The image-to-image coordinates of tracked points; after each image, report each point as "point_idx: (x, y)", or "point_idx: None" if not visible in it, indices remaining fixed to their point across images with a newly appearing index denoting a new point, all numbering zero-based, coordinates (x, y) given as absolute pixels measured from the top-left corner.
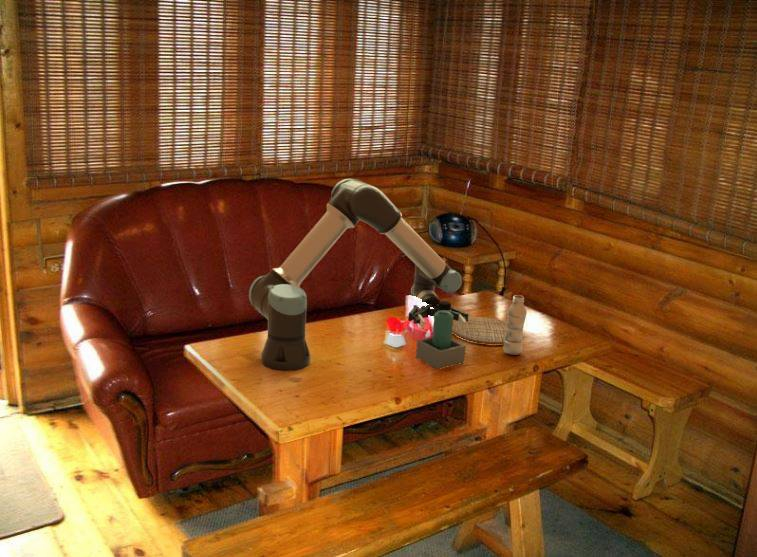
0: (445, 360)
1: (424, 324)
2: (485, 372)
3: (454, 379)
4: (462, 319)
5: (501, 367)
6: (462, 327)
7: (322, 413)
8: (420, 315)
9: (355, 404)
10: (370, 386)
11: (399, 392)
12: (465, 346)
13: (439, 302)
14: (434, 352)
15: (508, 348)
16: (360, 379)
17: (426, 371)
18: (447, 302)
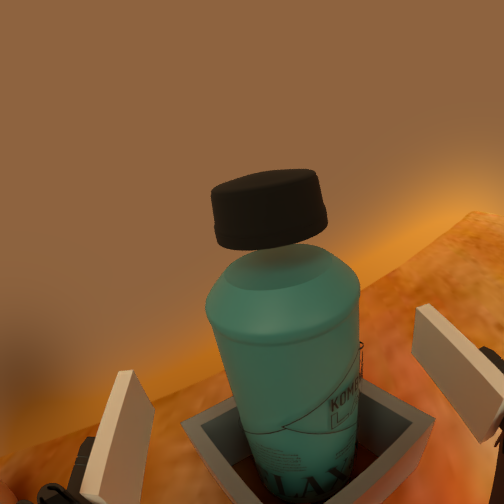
0: None
1: (414, 325)
2: (157, 409)
3: None
4: (122, 400)
5: None
6: (149, 419)
7: (459, 227)
8: (494, 380)
9: (438, 245)
10: (453, 281)
11: (392, 282)
12: (182, 423)
13: (311, 170)
14: None
15: (7, 489)
16: (486, 293)
17: None
18: (241, 177)
